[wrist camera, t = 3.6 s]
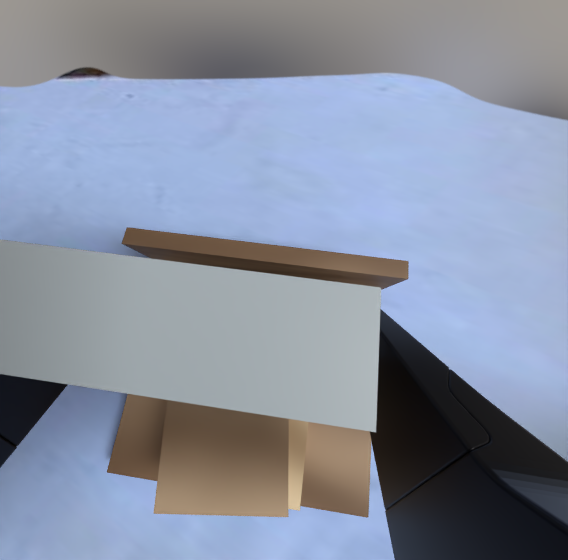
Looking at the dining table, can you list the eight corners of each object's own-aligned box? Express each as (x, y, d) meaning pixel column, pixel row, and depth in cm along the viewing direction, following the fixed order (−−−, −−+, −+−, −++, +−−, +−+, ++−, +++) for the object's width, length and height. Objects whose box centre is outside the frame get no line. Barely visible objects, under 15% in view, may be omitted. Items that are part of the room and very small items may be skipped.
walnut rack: (362, 503, 13) (405, 606, 8) (119, 462, 14) (29, 534, 9) (372, 280, 16) (408, 261, 11) (172, 255, 17) (126, 227, 12)
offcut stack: (298, 490, 13) (301, 540, 10) (174, 469, 13) (141, 511, 10) (308, 382, 14) (314, 397, 11) (195, 365, 14) (172, 375, 11)
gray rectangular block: (301, 343, 14) (375, 432, 2) (215, 331, 15) (-129, 354, 3) (303, 319, 15) (380, 288, 3) (220, 308, 15) (-64, 231, 3)
